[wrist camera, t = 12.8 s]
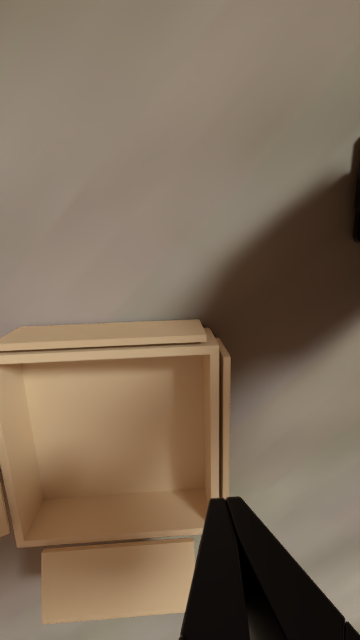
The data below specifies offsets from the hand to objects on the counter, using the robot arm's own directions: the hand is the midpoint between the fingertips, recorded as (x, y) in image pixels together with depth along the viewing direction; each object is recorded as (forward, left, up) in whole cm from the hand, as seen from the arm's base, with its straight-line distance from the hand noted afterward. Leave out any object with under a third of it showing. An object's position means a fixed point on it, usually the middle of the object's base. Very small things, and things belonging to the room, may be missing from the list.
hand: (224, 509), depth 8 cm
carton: (+5, +5, -13) cm, 15 cm away
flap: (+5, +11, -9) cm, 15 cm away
